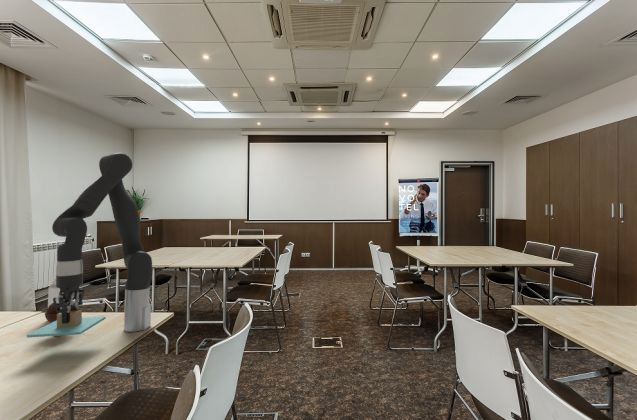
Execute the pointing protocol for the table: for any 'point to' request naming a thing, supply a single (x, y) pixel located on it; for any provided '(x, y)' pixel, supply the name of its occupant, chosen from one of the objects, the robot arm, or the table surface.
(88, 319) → the teal square mat
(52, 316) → the ice cream bowl
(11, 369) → the table surface
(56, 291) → the milk carton
